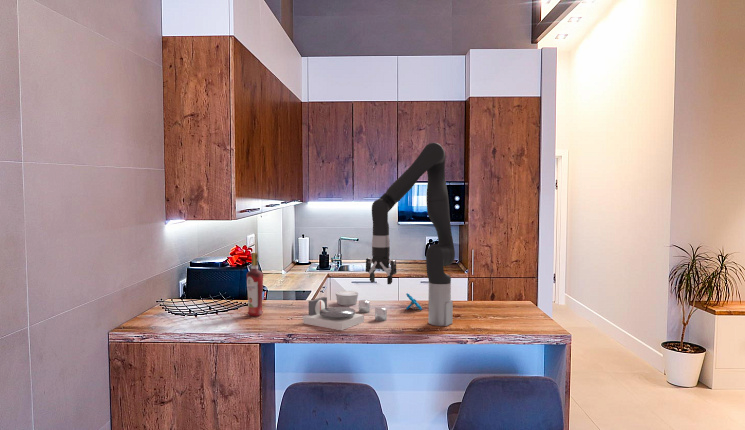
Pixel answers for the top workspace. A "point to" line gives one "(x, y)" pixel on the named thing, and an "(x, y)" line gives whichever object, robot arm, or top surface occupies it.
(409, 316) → the top surface
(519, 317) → the top surface
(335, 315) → the pan
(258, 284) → the liquor
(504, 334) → the top surface
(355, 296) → the ramekin
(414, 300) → the blue plastic branched piece
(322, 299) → the scale
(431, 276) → the robot arm
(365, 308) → the spacer
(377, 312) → the block
